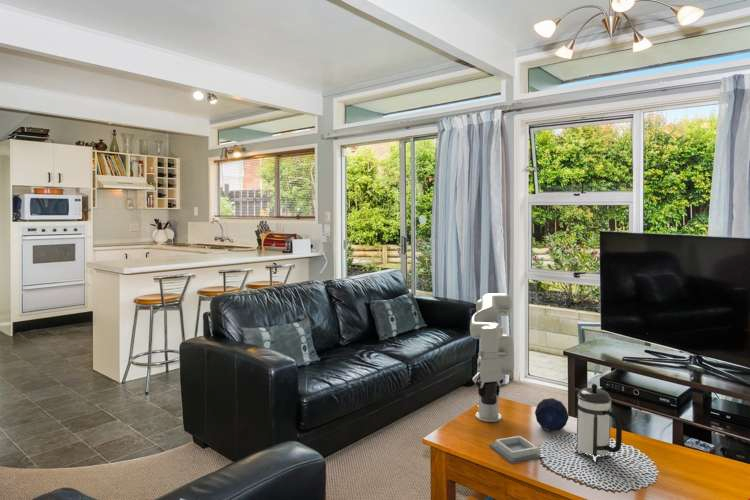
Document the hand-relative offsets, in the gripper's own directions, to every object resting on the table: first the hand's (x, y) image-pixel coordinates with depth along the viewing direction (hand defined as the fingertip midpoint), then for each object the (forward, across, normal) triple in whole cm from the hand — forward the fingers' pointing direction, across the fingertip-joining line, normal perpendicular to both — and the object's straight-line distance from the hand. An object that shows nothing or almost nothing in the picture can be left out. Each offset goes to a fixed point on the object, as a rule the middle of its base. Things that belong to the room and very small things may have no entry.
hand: (488, 395), depth 217 cm
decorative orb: (+22, +36, +5) cm, 42 cm away
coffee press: (+22, +37, -23) cm, 49 cm away
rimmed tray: (+22, +8, -10) cm, 25 cm away
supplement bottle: (+4, 0, 0) cm, 4 cm away
